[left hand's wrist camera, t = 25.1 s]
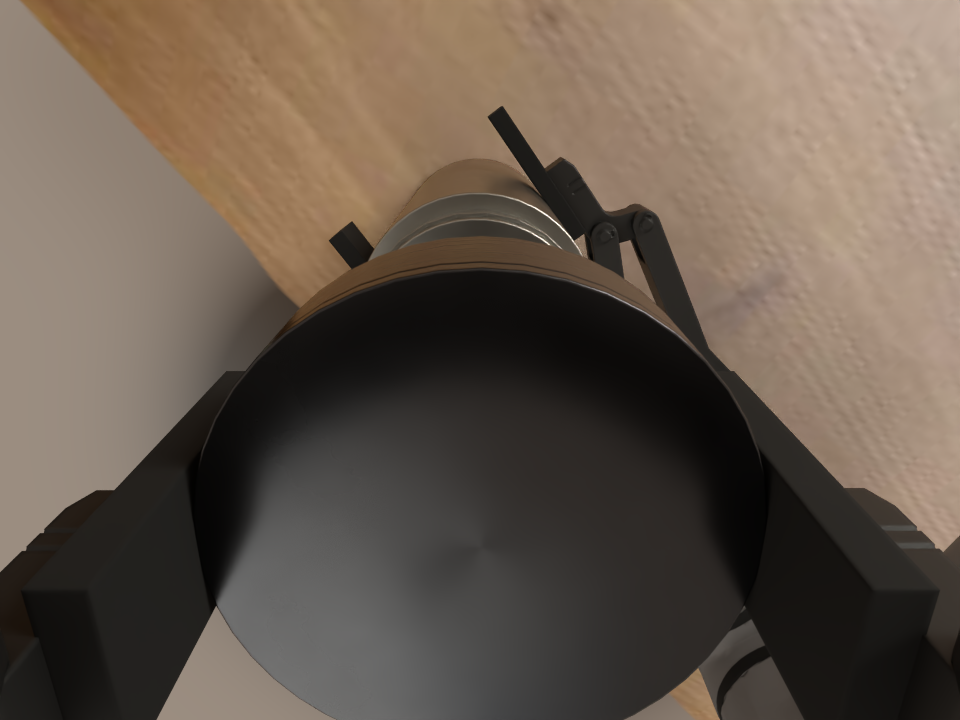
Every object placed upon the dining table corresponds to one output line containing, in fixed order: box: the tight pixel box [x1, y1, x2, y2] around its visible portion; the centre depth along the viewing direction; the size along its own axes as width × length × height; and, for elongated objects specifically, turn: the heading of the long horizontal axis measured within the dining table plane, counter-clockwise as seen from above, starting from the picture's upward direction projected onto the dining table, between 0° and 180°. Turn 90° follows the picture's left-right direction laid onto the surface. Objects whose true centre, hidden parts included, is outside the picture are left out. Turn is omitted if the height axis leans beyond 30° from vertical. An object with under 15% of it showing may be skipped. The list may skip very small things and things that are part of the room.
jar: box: [368, 159, 583, 261], centre depth 29 cm, size 8×8×18 cm
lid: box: [193, 236, 767, 720], centre depth 11 cm, size 9×9×2 cm
